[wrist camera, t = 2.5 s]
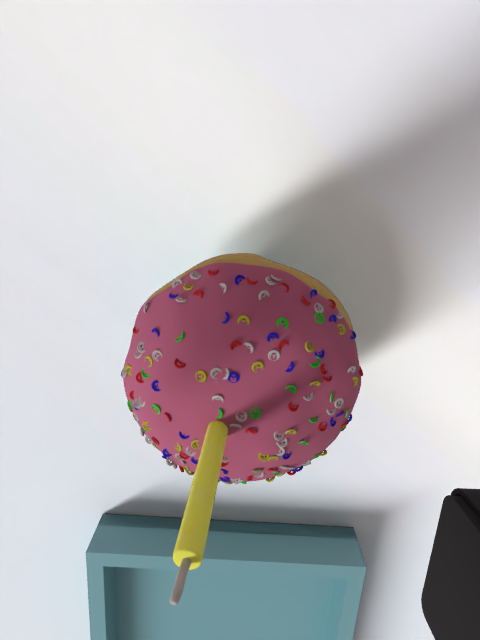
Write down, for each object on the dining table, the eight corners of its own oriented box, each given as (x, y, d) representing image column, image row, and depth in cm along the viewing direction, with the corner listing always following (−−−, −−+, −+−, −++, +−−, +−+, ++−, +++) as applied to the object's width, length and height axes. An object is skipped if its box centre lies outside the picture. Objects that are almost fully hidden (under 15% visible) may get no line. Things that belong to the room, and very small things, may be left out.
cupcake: (252, 445, 21) (267, 751, 9) (114, 346, 19) (-74, 565, 8) (370, 320, 19) (572, 510, 7) (227, 200, 17) (201, 202, 6)
